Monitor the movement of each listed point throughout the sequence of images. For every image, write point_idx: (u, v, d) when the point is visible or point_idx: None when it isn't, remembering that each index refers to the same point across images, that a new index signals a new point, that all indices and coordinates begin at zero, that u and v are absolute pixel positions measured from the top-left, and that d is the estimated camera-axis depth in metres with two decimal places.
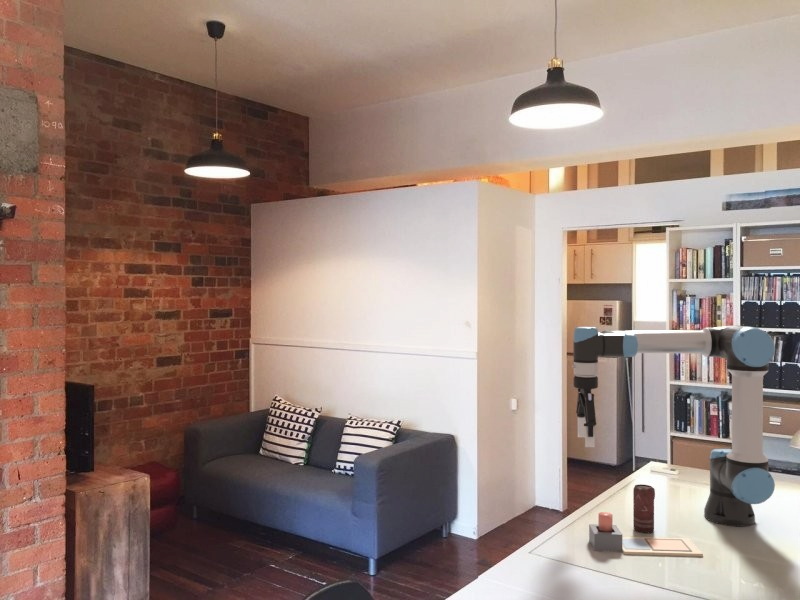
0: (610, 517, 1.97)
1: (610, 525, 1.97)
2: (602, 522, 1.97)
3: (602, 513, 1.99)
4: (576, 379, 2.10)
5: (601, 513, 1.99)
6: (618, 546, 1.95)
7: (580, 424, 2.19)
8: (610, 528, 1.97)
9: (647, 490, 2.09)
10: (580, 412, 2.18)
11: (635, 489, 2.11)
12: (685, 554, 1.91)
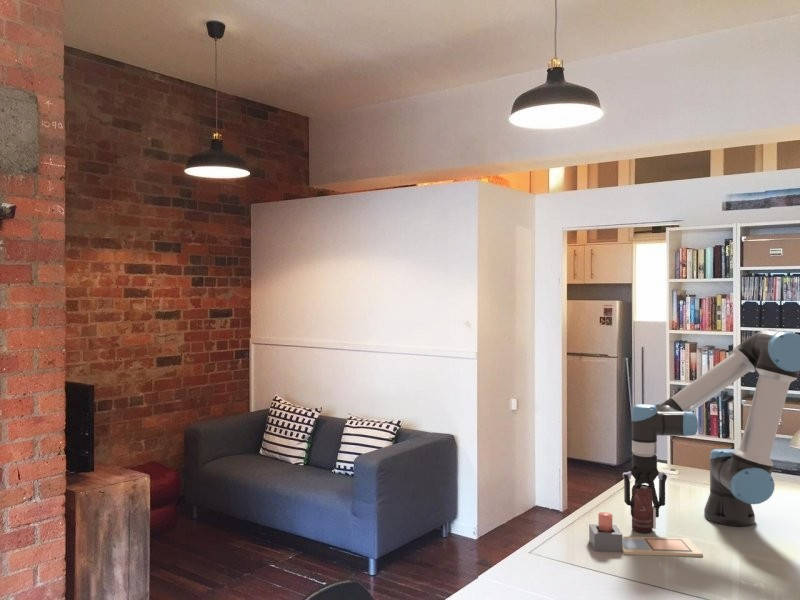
0: (610, 517, 1.97)
1: (610, 525, 1.97)
2: (602, 522, 1.97)
3: (602, 513, 1.99)
4: None
5: (601, 513, 1.99)
6: (618, 546, 1.95)
7: None
8: (610, 528, 1.97)
9: (645, 490, 2.09)
10: None
11: (633, 489, 2.11)
12: (685, 554, 1.91)
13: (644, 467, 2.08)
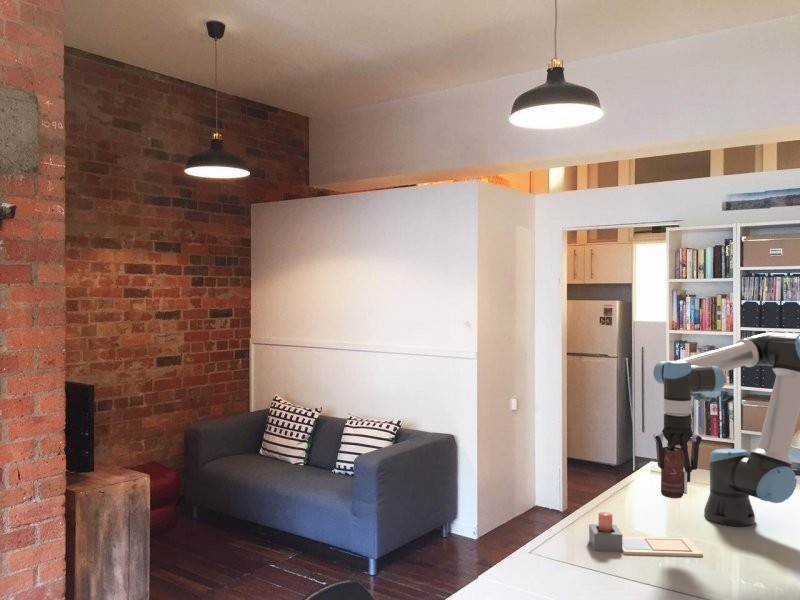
0: (610, 517, 1.97)
1: (610, 525, 1.97)
2: (602, 522, 1.97)
3: (602, 513, 1.99)
4: None
5: (601, 513, 1.99)
6: (618, 546, 1.95)
7: None
8: (610, 528, 1.97)
9: (676, 452, 1.94)
10: None
11: (663, 451, 1.96)
12: (685, 554, 1.91)
13: (677, 427, 1.93)
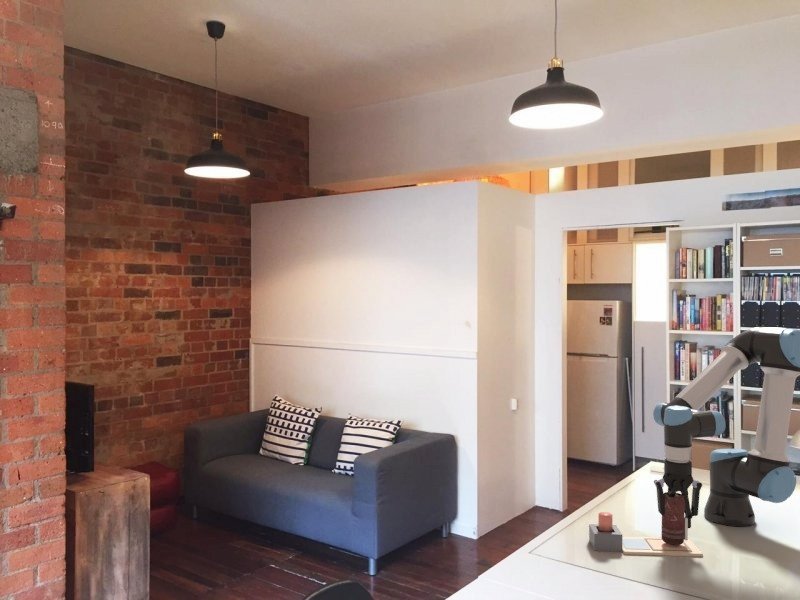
0: (610, 517, 1.97)
1: (610, 525, 1.97)
2: (602, 522, 1.97)
3: (602, 513, 1.99)
4: None
5: (601, 513, 1.99)
6: (618, 546, 1.95)
7: None
8: (610, 528, 1.97)
9: (677, 498, 1.94)
10: None
11: (664, 497, 1.96)
12: (685, 554, 1.91)
13: (678, 474, 1.93)
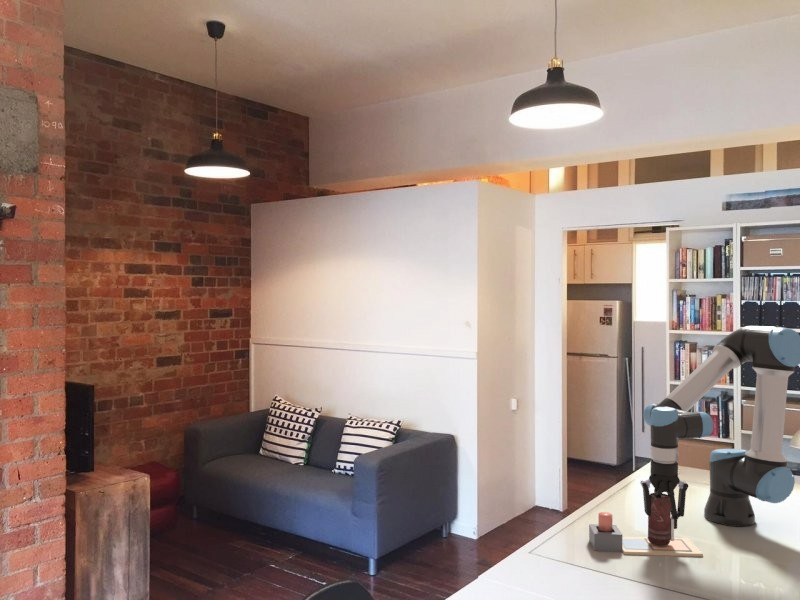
0: (610, 517, 1.97)
1: (610, 525, 1.97)
2: (602, 522, 1.97)
3: (602, 513, 1.99)
4: None
5: (601, 513, 1.99)
6: (618, 546, 1.95)
7: None
8: (610, 528, 1.97)
9: (663, 499, 1.95)
10: None
11: (650, 498, 1.97)
12: (685, 554, 1.91)
13: (664, 475, 1.94)
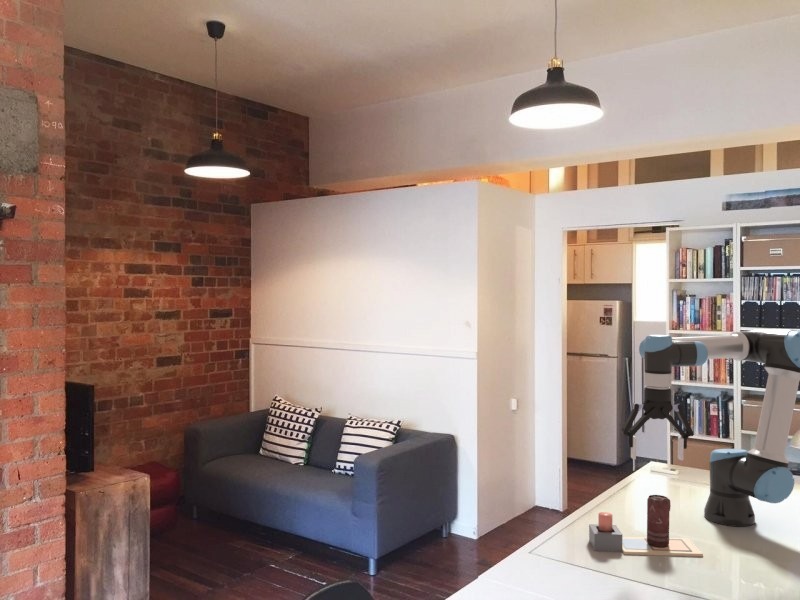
0: (610, 517, 1.97)
1: (610, 525, 1.97)
2: (602, 522, 1.97)
3: (602, 513, 1.99)
4: None
5: (601, 513, 1.99)
6: (618, 546, 1.95)
7: (678, 444, 1.97)
8: (610, 528, 1.97)
9: (662, 501, 1.95)
10: (677, 431, 1.97)
11: (649, 500, 1.97)
12: (685, 554, 1.91)
13: (657, 400, 1.93)
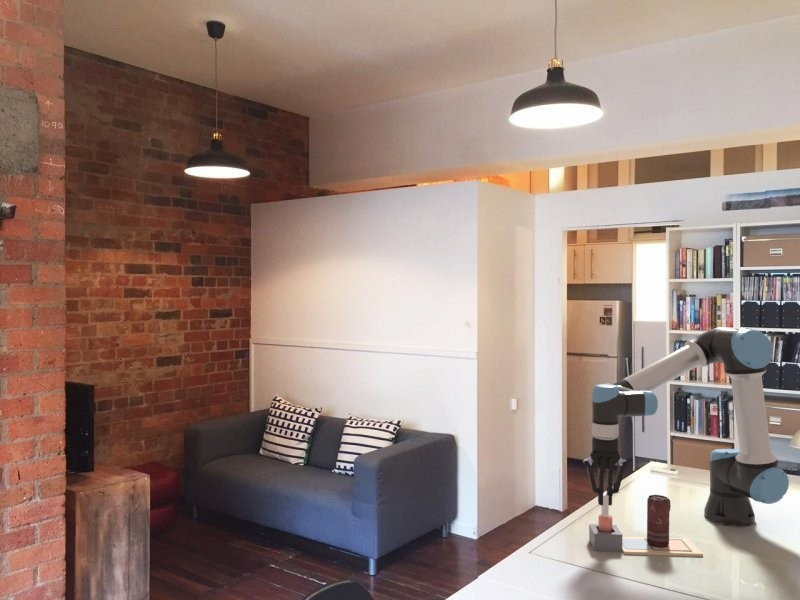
0: (610, 519, 1.97)
1: (610, 527, 1.97)
2: (602, 525, 1.97)
3: None
4: None
5: (601, 515, 1.99)
6: (618, 546, 1.95)
7: None
8: (610, 530, 1.97)
9: (662, 501, 1.95)
10: (607, 484, 1.99)
11: (649, 500, 1.97)
12: (685, 554, 1.91)
13: (604, 451, 1.95)
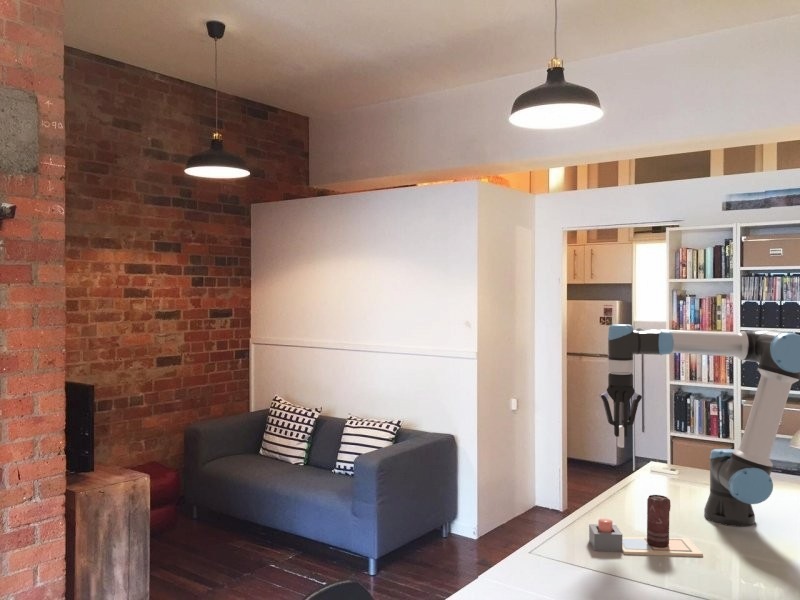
0: (610, 524, 1.97)
1: None
2: (602, 529, 1.97)
3: (602, 520, 1.99)
4: None
5: (601, 520, 1.99)
6: (618, 546, 1.95)
7: None
8: None
9: (662, 501, 1.95)
10: (622, 417, 2.13)
11: (649, 500, 1.97)
12: (685, 554, 1.91)
13: (620, 385, 2.09)
